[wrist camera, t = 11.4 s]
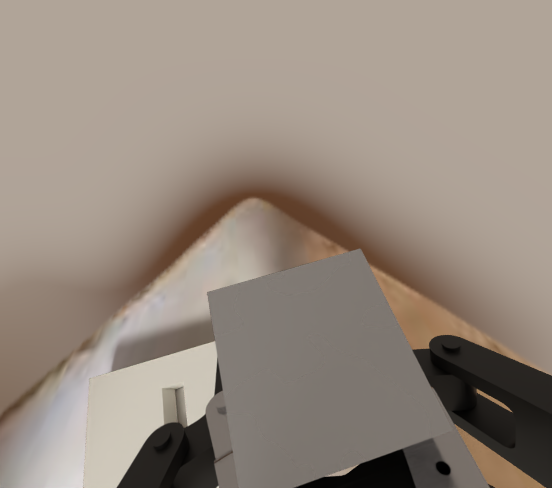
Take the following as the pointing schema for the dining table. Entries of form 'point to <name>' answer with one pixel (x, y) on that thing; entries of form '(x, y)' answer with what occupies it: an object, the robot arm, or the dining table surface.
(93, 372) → the dining table surface
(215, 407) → the robot arm
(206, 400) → the socket plank
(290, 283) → the gray square peg
